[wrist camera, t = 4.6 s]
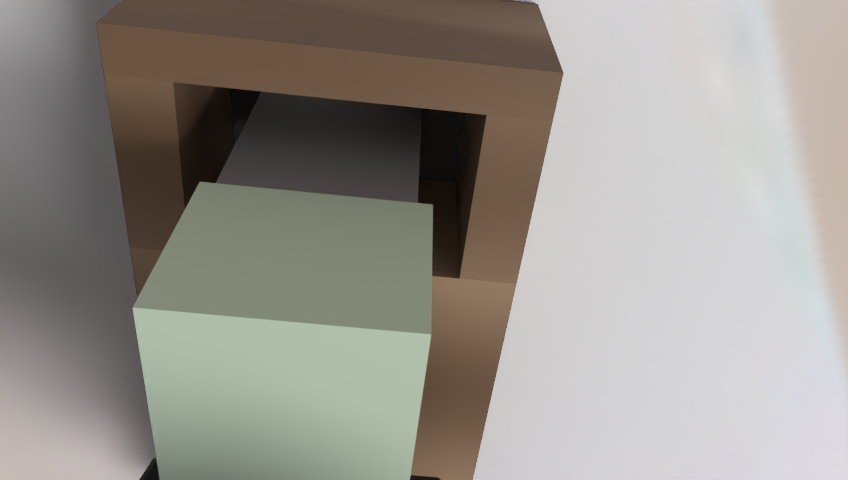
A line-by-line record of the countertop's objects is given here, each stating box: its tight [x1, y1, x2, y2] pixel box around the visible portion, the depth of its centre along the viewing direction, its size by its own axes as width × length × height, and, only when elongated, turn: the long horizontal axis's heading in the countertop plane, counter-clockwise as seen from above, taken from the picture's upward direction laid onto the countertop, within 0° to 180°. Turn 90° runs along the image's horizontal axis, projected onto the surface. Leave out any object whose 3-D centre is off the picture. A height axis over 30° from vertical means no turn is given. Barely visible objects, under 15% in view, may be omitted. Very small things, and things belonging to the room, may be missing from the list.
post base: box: [96, 0, 563, 480], centre depth 14 cm, size 13×6×3 cm, turn 174°
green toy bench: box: [132, 91, 433, 480], centre depth 13 cm, size 10×3×6 cm, turn 174°
